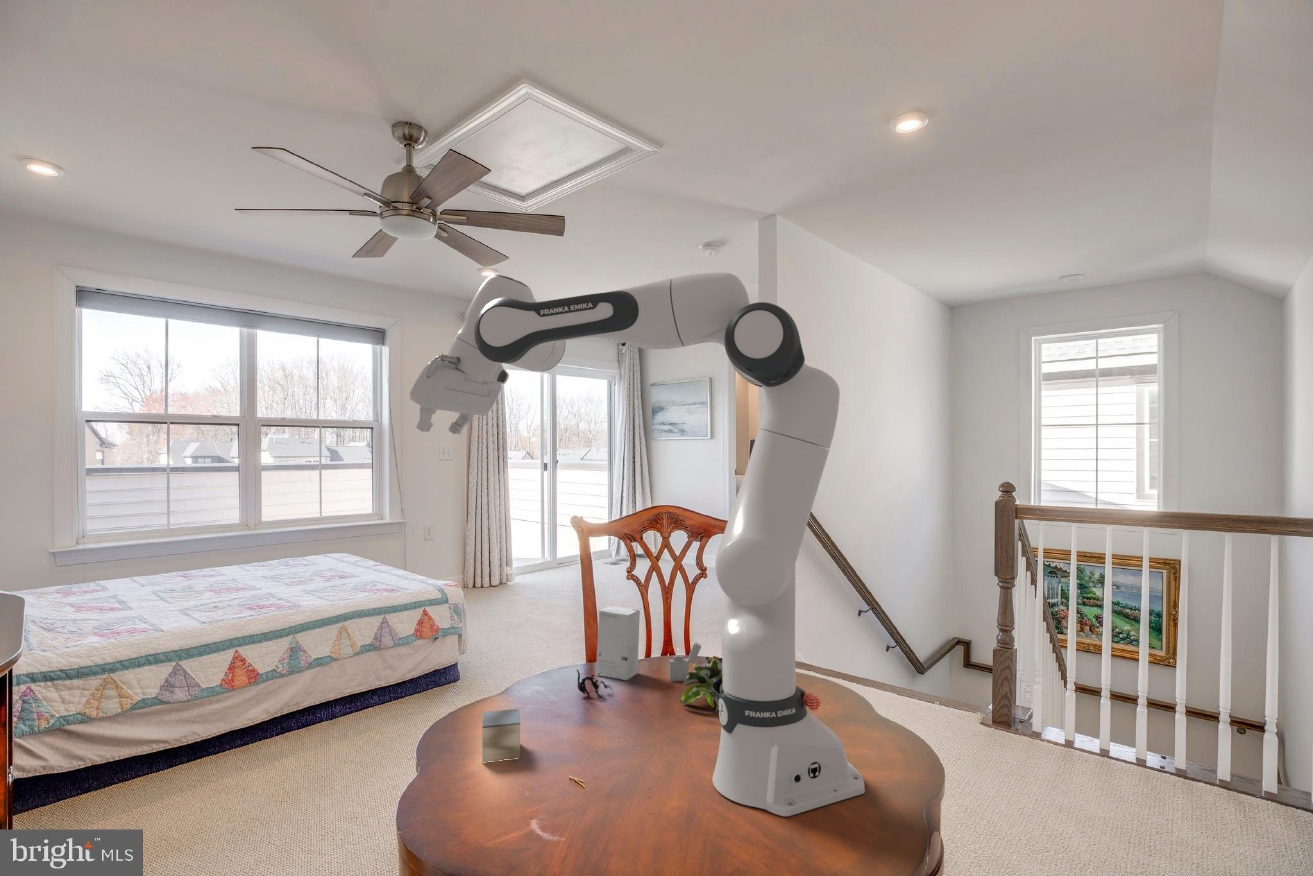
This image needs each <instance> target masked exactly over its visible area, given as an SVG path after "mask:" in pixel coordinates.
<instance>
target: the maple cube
mask: <svg viewBox="0 0 1313 876" xmlns="http://www.w3.org/2000/svg"><path fill="white" fill-rule="evenodd" d="M481 735H482V736H481V738H482V739H481V742H482V743H481V744H482V745H481V748H482V749H481V750H482V751H481V755H482V756H481V757H482V758H481V760H482V761H481V762H482V763H483V762H488V761H499V760H504V759H514V758H520V759H521V714H520V708H514V709H513V708H512V709H504V710H503V709H502V710H493V711H484V712H483V714H482V732H481ZM482 763H481V764H482Z"/></svg>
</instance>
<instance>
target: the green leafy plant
mask: <svg viewBox="0 0 1313 876" xmlns="http://www.w3.org/2000/svg"><path fill="white" fill-rule="evenodd" d="M705 660H706V663H705V662H700V664H698V665H697V664H693V666H692V669H693V671H689V670H688V677H686V678H687V679H686V680H685V681H683V686H684V687H685V686H687V684H690V683H693V682H695V681H697V682H696V683H693V684H692V685H690V686H689V687H688V688H686V689H685V691H684V692H683V693H682V695H681V697H680V699H679V703H680V704H682V705H683V706H686V704H687V705H689V704H691V703H693V702H695V701H696V700H697V701H698V700H699V699H700V698H702V697H704V696H705V699H706V701H707V703H708V705H710V706H711V707H712V708H715V704H714V703H716V709H715V711H714V714H715V715H716V714H717V712H718V711H719V699H720V685H721V684H722V657H719V656H717V655H712V657H709V656H705Z"/></svg>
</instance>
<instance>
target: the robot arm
mask: <svg viewBox="0 0 1313 876" xmlns="http://www.w3.org/2000/svg"><path fill="white" fill-rule="evenodd" d="M533 294H534V293H533V292H532V289H531V288H530V286H528V285H527V284H526V283H524V282H522V281H519V280H516V279H514V278H512V277H509V276H506V275H501V274H494V275H490V276H488V277H487V278H486V279H485V280H484V281H483V283H482V284H481V285H480V287H479V289H478V290H477V292H476V294H475V295H474V296H473V299H472V301H471V303H470V304H469V307H468V309H467V310H466V313H465V320H464V321H463V322H464V323H463V324H462V327H461V328H460V329H459V330H458V331H457V333H456V334H455V336H454V338H453V339H452V342H451V344H450V347H449V349H448V351H447V352H446V353H440V354H439V355H438V356H436V357H434V358H432V359H431V361H429V362H428V363H426V365H425V366H424V367H423V369H422V371H421V372H420V373H419V375H418V377H417V379H416V380H415V382H414V384H413V385H412V388H411V390H410V392H409V397H410V398H409V399H410V400H411V401H412V402H414V403H415V404H417V405H419V420H418V423H417V424H416V429H417V430H419V431H421V432H424V433H429V432H430V431H431V428H432V427H433V425H434V423H433V422H432V416H434V415H435V414H436V413H437V410H439V411H445V412H452V413H458V414H459V416H458V417H457V418H456V420H455V421H452V422H451V423H450V426H449V427H448V431H449V432H450V433H451V434H453V435H460V434H462V432H463V430H464V427H466V426H467V425H468V424H469V423H470V422H471V421H472V420H473V417H474V415H475V416H482V417H483V416H486V415H487V414H488V413H489V412H490V411H491V410H492V409H493V406H494V405H495V403H496V401H497V399H498V396H499V395H500V393H501V390H502V385H505V384H506V383H507V381H508V380H509V377H510V374H509V372H508V371H507V370H506V368H505V367H504V366H503V365H502V364H507V365H510V366H513V367H517V368H520V369H525V370H528V371H531V372H546V371H550V370H552V369H553V368H555V367H556V366H557V365H558V364H559V363H560V361H561V360H562V359H563V357H564V354H565V351H566V341H572V340H579V339H586V338H603V339H605V338H606V339H610V340H614V341H619V342H623V343H625V344H629V345H631V346H634V347H637V348H639V349H644V350H669V349H670V350H671V349H673V350H674V349H678V348H685V347H689V346H694V345H700V344H703V343H704V344H705V343H715V344H719V345H722V346H724V348H725V349H724V350H725V353H726V355H727V357H728V359H729V361H730V363H731V366H732V367H733V369H734V370H735V372H736V373H738V374H739V376H741V378H742V379H744V380H746V382H748V383H749V384H752V385H754V386H756V387H758V388H759V387H760V388H763V389H764V393H765V404H764V405H765V406H764V409H763V414H762V417H761V420H760V423H759V426H758V429H757V434H756V436H755V440H754V443H753V447H752V451H751V454H750V456H749V460H748V464H747V467H746V470H745V473H744V477H743V479H742V482H741V485H740V488H739V491H738V493H737V496H736V498H735V501H734V503H733V507H732V509H731V512H730V515H729V517H728V520H727V523H726V526H725V529H724V532H723V535H722V538H721V541H720V544H719V546H718V550H717V553H716V555H715V556H716V557H715V564H714V565H715V568H714V569H715V574H716V578H717V582H718V584H719V586H720V588H721V590H722V591H723V592H724V594H725V599H724V610H723V611H724V612H723V613H724V614H723V622H722V623H723V624H722V631H721V658H722V684H721V685H720V699H719V708H718V716H719V724H720V726H721V728H720V739H719V745H718V746H719V747H718V753H717V758H716V763H715V767H714V771H713V774H712V777H711V778H712V784H713V786H714V788H715V789H716V790H717V791H718V792H719V793H720V794H721V795H722V796H724V797H726V798H727V799H729V800H730V801H732V802H735V803H738V804H740V805H745V806H748V807H755V808H758V809H763V810H766V811H768V812H770V813H772V814H775V815H778V816H781V817H792V816H794V815H796V814H801V813H804V812H807V811H811V810H814V809H817V808H820V807H824V806H827V805H830V804H835V803H837V802H840V801H843V800H848V799H850V798H853V797H856V796H860V795H862V794H863V795H864V794H865V793H866V789H865V780H864V777H862V775H861V773H860V772H859V771H858V769H857V768H855V766H854V765H852V764H851V763H850V762H849V761H848V758H847V753H846V750H845V747H844V744H843V742H842V741H841V739H840V738H839V737H838V735H837V734H836V733H835V732H834V731H833V730H832V729H830V728H829V727H828V726H827V725H826V724H825V723H823V722H822V721H820V720H819V719H818V718H817V717H815V715H813V714H812V713H811V712H809V711H808V710H807V707H808V709H809V710H810V711H814V712H815V711H817V710H818V709H819V708H820V707H821V705H820V704H821V700H820V699H819V697H818V696H816V695H815V694H814V693H811V692H806V691H805V690H804V689H803V688H801V687H799V686H798V685H796V684H797V683H796V682H797V681H796V679H797V676H796V562H797V559H798V555H799V552H800V549H801V546H802V542H803V540H804V536H805V533H806V529H807V526H808V522H809V519H810V517H811V516H810V515H811V512H812V508H813V505H814V502H815V499H816V496H817V493H818V490H819V489H818V488H819V486H820V482H821V480H822V476H823V473H824V469H825V466H826V464H827V463H826V462H827V460H828V456H829V453H830V449H831V446H832V442H833V439H834V434H835V429H836V425H837V419H838V413H839V405H840V393H841V392H840V387H839V385H838V383H837V381H836V380H835V379H834V377H832V376H831V375H830V374H828V373H827V372H825V371H823V370H821V369H818V368H816V367H813V366H809V365H808V364H807V363H805V361H806V358H805V354H804V349H803V346H802V342H801V340H802V339H801V336H800V334H799V333H800V332H799V329H798V326H797V324H796V323H795V322H796V321H795V320H794V319H793V317H792V315H791V314H790V313H789V312H788V311H786V310H785V309H784V308H782V307H781V306H778V305H777V304H774V303H771V302H764V301H762V302H761V301H759V302H758V301H757V302H753V303H750V300H749V294H748V291H747V288H746V287H745V285H744V283H743V282H742V281H741V279H740V278H739V277H738V276H736V275H735V274H733V273H730V272H705V273H694V274H687V275H681V276H676V277H670V278H667V279H662V280H658V281H651V282H649V283H645V284H640V285H636V286H632V287H627V288H620V289H616V290H612V291H606V292H599V293H590V294H589V293H588V294H583V295H582V294H581V295H576V296H570V297H563V298H558V299H557V298H556V299H551V300H550V299H549V300H545V301H536V299H535V297H534V295H533Z"/></svg>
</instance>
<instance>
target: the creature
mask: <svg viewBox="0 0 1313 876" xmlns="http://www.w3.org/2000/svg"><path fill="white" fill-rule="evenodd" d="M576 672H577V689H578V691H580V692H581V693H582V694H583V695H585V694H587V695H588V699H589V700H590V699H593V698H601V699H603V700H605V701H607V700H608V699H607V698H604V697H602V696H601V695H600V694H599V689H600V685H601V684H602V685H603V686H604V689H608V688H610V689H611V691H612V692H613V689H612V687H611V686H610V685H609V684H606V683H605V682H604V681H603V680H600V681H599V679H596V678H598V677H599V676H598V675H600V673H601V672H602V671H601V672H600V673H599V674H598V675H597V674H596V675H595V674H592V675H591V676H586V677H584V678H582V679H581V673H580V671H579V669H576ZM580 679H581V681H580ZM586 681H590V682H591V686H592V687H593V690H595V693H596V695H597V697H595V696H591V695H590V693H589V692H591V690H590V691H588V689H587V687H586Z"/></svg>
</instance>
